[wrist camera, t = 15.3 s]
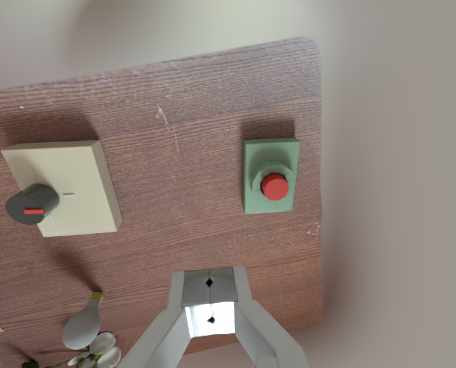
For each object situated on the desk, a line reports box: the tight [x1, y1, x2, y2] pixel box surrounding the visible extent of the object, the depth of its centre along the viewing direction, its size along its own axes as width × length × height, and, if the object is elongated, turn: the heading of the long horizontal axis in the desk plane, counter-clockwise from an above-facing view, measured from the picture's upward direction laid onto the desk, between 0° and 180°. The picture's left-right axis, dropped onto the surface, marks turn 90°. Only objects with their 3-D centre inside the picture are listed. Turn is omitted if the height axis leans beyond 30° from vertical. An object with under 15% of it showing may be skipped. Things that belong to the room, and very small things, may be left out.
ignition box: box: [243, 137, 300, 214], centre depth 35 cm, size 12×8×4 cm, turn 1°
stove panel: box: [1, 140, 123, 237], centre depth 33 cm, size 14×13×3 cm
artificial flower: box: [19, 332, 121, 368], centre depth 50 cm, size 9×22×10 cm, turn 103°
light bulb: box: [62, 292, 103, 349], centre depth 41 cm, size 5×6×10 cm
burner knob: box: [5, 183, 60, 225], centre depth 30 cm, size 4×4×4 cm
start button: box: [261, 174, 289, 201], centre depth 33 cm, size 4×4×2 cm
